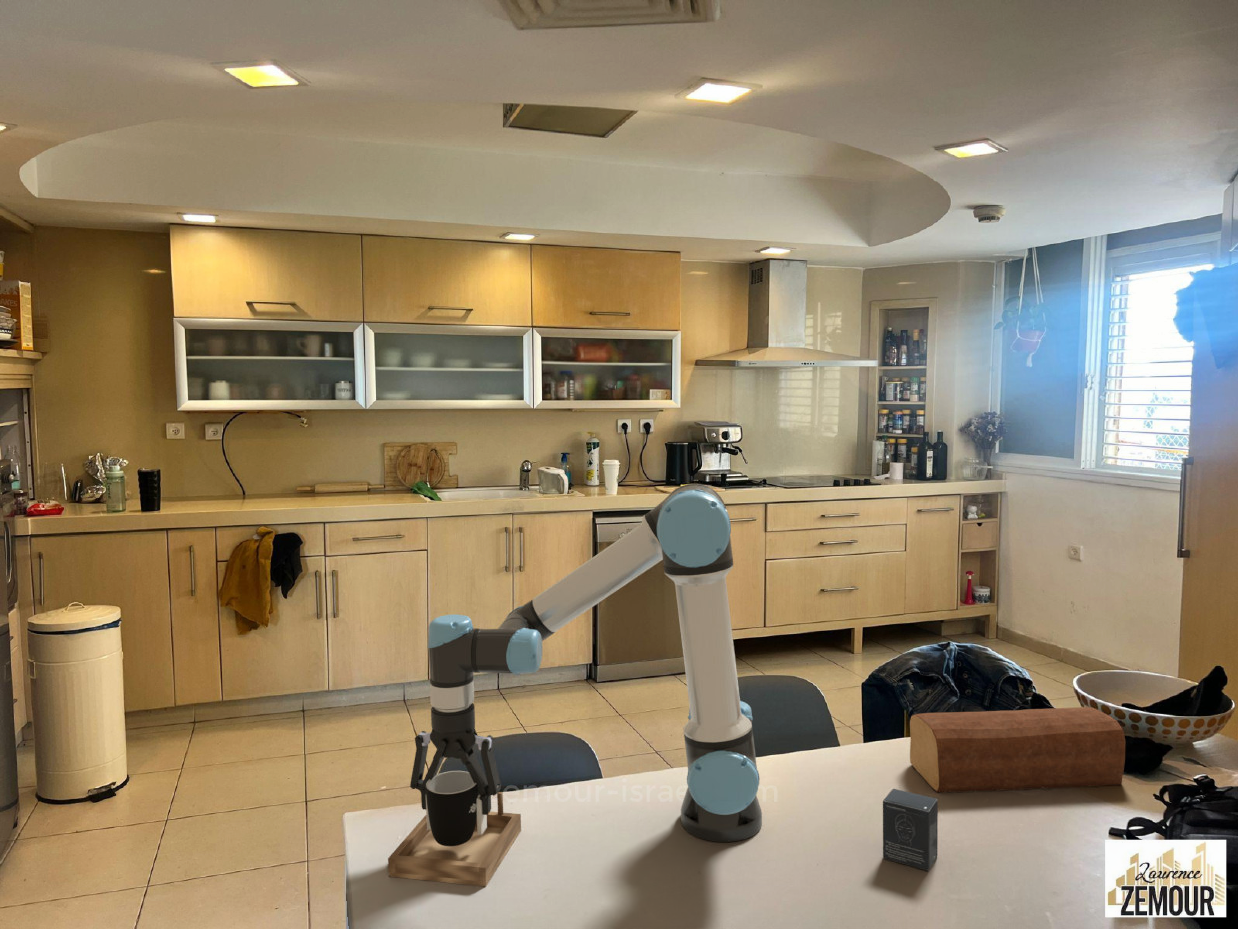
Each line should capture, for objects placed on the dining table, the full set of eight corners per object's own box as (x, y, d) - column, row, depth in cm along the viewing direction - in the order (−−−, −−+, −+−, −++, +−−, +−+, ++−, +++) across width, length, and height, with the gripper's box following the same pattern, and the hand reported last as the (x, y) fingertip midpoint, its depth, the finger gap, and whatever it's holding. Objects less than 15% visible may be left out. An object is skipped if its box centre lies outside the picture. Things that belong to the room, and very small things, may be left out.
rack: (521, 830, 160) (519, 793, 159) (486, 886, 142) (484, 844, 142) (433, 823, 164) (432, 786, 163) (388, 876, 146) (386, 835, 145)
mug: (476, 850, 147) (474, 793, 146) (423, 852, 147) (421, 794, 146) (484, 815, 159) (483, 762, 158) (435, 817, 158) (433, 764, 158)
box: (937, 857, 148) (938, 798, 147) (928, 872, 144) (929, 811, 143) (892, 844, 153) (892, 787, 152) (881, 858, 148) (882, 799, 147)
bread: (1127, 788, 172) (1129, 723, 171) (937, 797, 170) (937, 731, 169) (1082, 756, 188) (1083, 696, 187) (907, 763, 186) (907, 703, 185)
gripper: (518, 700, 152) (521, 823, 154) (405, 694, 156) (409, 813, 158) (504, 716, 145) (507, 845, 147) (385, 709, 149) (391, 834, 151)
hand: (457, 828), depth 152 cm, fingers closed on mug, 9 cm apart
